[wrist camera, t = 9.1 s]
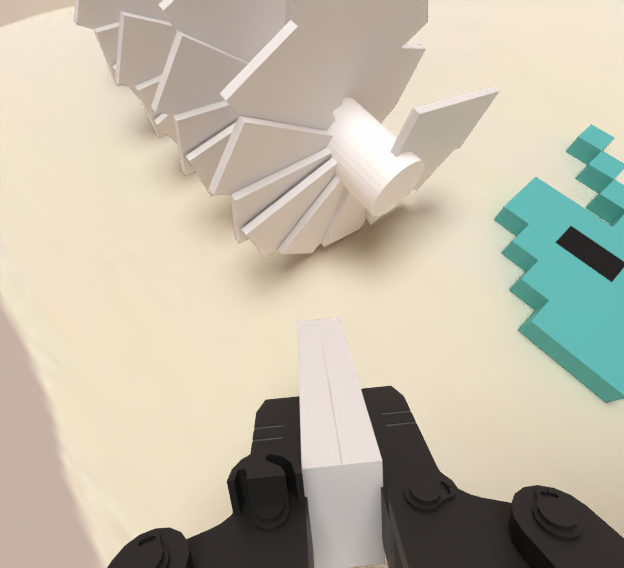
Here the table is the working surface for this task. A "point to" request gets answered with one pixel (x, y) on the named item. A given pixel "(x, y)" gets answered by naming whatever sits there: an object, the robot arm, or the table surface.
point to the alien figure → (574, 268)
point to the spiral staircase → (286, 105)
